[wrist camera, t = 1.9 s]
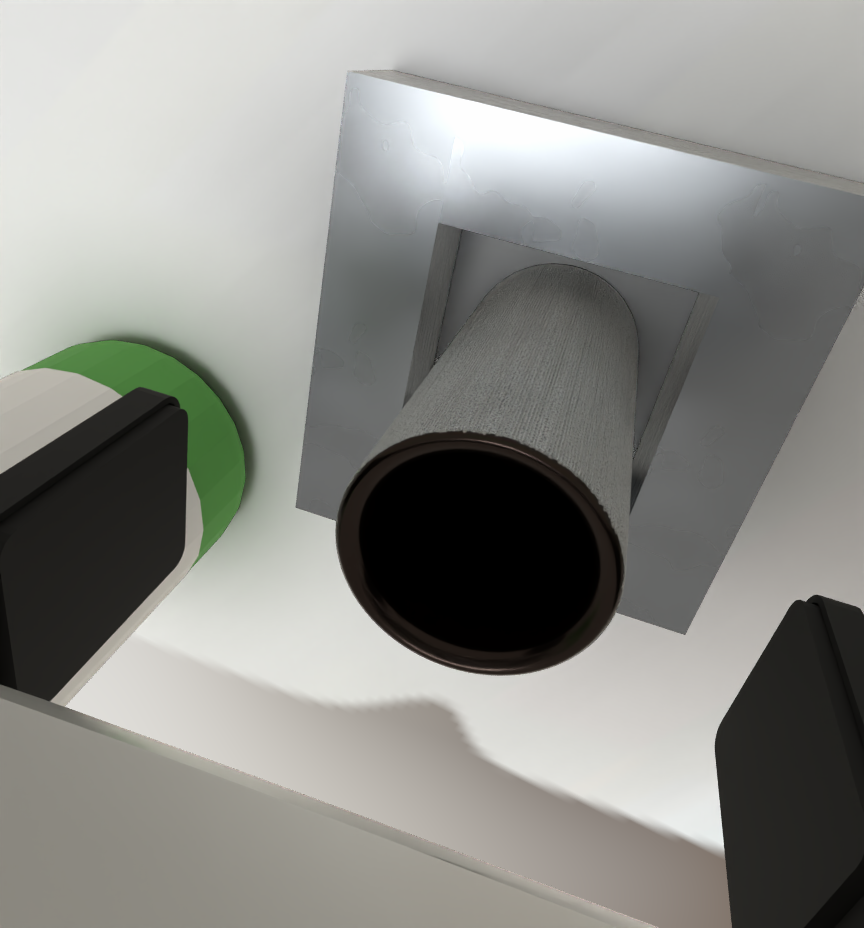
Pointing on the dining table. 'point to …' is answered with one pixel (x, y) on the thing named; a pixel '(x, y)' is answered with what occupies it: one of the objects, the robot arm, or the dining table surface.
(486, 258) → the dining table surface
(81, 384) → the wine bottle
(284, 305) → the dining table surface
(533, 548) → the grey cylinder
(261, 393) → the dining table surface
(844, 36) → the dining table surface
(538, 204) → the socket block
